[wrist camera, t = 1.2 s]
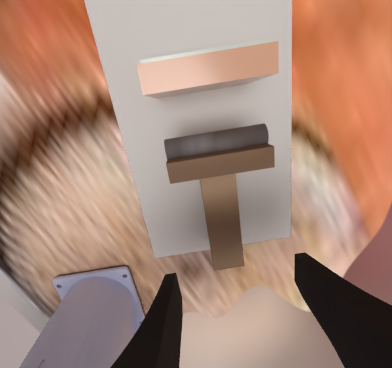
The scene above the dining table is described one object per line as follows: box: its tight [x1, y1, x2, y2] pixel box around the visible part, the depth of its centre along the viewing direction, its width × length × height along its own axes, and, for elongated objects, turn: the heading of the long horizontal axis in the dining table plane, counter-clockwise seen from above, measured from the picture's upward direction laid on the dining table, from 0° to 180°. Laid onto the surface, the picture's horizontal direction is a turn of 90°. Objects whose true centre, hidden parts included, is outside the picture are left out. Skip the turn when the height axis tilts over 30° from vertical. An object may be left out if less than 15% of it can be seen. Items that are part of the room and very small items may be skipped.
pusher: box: [164, 123, 275, 271], centre depth 16 cm, size 11×6×6 cm, turn 9°
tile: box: [136, 38, 279, 99], centre depth 13 cm, size 2×7×6 cm, turn 99°
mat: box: [84, 0, 292, 258], centre depth 17 cm, size 25×14×1 cm, turn 9°
